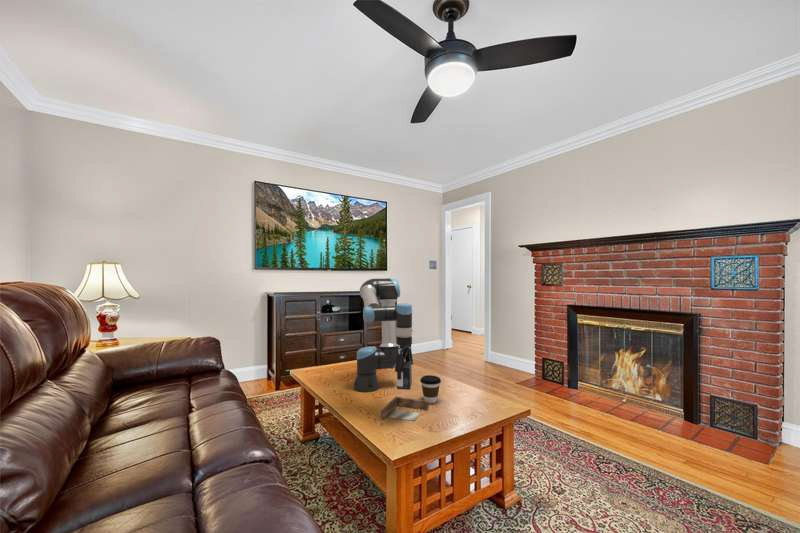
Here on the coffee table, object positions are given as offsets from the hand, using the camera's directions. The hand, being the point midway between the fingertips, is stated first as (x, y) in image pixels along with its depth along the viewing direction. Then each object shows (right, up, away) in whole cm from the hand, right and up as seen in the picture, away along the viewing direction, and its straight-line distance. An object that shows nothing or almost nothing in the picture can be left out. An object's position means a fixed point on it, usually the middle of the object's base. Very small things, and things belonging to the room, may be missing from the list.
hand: (404, 382), depth 157 cm
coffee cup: (+14, -16, +17) cm, 28 cm away
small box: (0, -2, 0) cm, 2 cm away
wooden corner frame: (+1, -16, +1) cm, 16 cm away
